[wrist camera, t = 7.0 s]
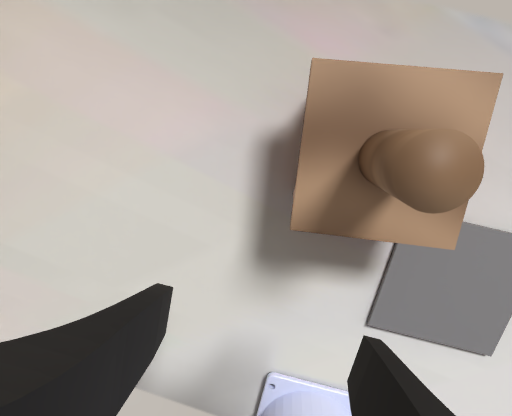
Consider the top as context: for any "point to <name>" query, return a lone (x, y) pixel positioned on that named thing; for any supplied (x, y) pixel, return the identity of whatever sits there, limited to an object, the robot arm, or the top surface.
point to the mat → (449, 291)
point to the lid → (391, 151)
